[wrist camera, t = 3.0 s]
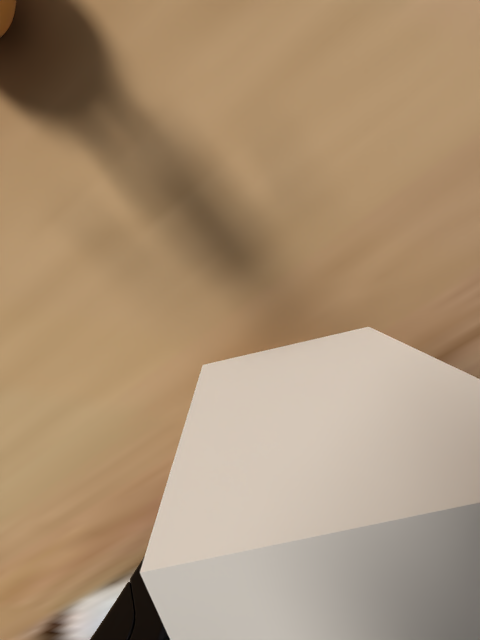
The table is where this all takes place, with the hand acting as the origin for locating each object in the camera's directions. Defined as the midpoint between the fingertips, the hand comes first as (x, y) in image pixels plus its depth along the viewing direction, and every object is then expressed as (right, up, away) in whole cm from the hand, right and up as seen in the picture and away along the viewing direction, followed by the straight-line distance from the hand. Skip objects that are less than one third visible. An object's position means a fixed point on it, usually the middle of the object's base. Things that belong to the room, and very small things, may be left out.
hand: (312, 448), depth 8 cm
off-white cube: (0, 0, +2) cm, 2 cm away
